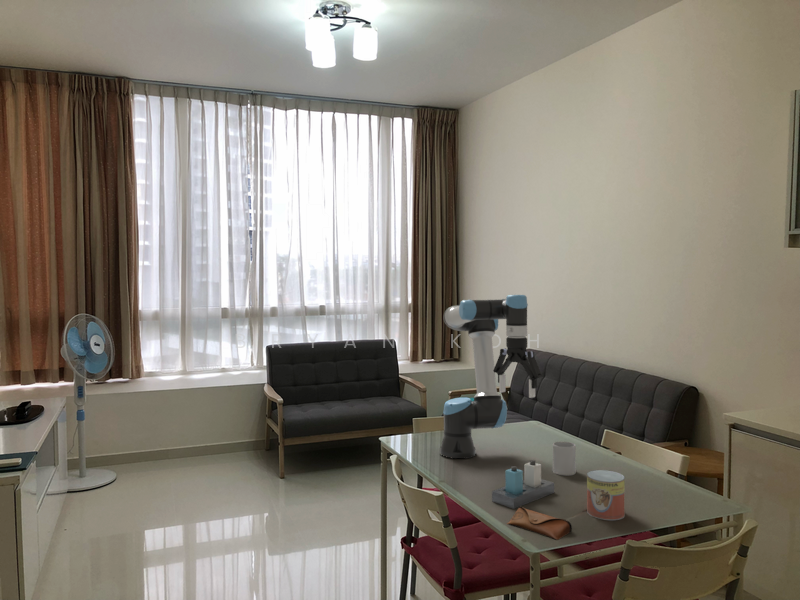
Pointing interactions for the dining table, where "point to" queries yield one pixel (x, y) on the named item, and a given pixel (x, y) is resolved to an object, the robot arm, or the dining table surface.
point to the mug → (564, 458)
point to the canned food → (605, 494)
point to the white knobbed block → (532, 474)
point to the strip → (522, 494)
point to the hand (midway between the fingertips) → (516, 394)
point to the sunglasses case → (540, 523)
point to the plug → (514, 480)
